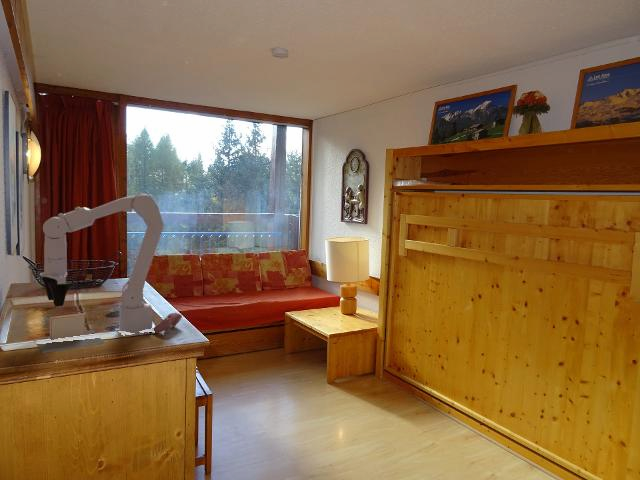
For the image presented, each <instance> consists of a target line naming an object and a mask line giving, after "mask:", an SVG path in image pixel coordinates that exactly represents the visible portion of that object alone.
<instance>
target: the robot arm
mask: <svg viewBox="0 0 640 480" xmlns="http://www.w3.org/2000/svg"><path fill="white" fill-rule="evenodd" d="M132 210H133V211H134V212H135V213H136V214H137V215H138V216H139V217H141V218H142V221H143V222H144V224H145V226H146V229H145V232H144V235H143V237H142V242H141V244H140V247H139V250H138V253H137V256H136V258H135V261H134V265H133V267H132V270H131V273H130V274H129V277H128V280H127V282H126V283H125V284H123V286H122V289H121V296H120V299H121V300H120V301H121V302H120V303H119V323H118V325H119V326H118V327H117V328H114V330H115V332H117V330H119V331H126V332H130V333H135V334H133V335H125V336H122V337H123V338H124V337H131V336H136V335H146V334H148V335H149V333H148V332H144V333H140V332H139V331H142V330H145V329H151V328H152V329H153V316H154V315H153V313H154V312H153V307H152V305H151V303H147V302H146V303H145V301H144V293H143V292H144V288H145V283H146V279H147V276H148V273H149V270H150V268H151V264H152V261H153V259H154V255H155V253H156V250H157V247H158V243H159V241H160V238H161V235H162V232H163V230H164V221H163V218H162V214H161V213H160V212H161V211H160V208H159V206H158V204H157V202H156V201H155V200H154V198H153V197H152V196H151V195H149V194H148V193H144V192H143V193H138V194H136V195H130V196H125V197H121V198H118V199H116V200H112V201H110V202H107V203H105V204H101V205H99V206H97V207H94V208H91V209H90V208H89V207H85V206H83V207H80V206H77V207H75V208H74V210H71V211H68V212H66V213H63V212H60V213H58V215H57V216H52V217H50V218H49V219H47V220H46V221H45V222H44V223H43V225H42V231H43V233H44V242H43V243H44V245H43V247H44V248H43V250H44V251H43V253H44V254H43V255H44V256H43V257H44V258H43V259H44V260H43V261H44V263H43V264H44V265H43V267H44V271H43V272H40V273H39V276H40V279H41V281H42V283H43V285H44V288H45V292H46V296H47V298H48V299H47V300H48V301H53V305H54V307H56V308H57V307H63V306H64V304H65V301H66V296H67V293H68V291H69V289H70V287H71V284H72V283H71V282H70V281H69V282H67V279H66V278H67V276H68V271H67V269H68V268H67V267H68V266H67V265H68V264H67V263H68V261H67V259H68V258H67V247H68V246H67V245H68V243H67V234H66V233H73V232H76V231H79V230H81V229H84V228H88V227H91V226H93V225H94V222H95V221H96V219H100V218H104V217H106V216H109V215H112V214H116V213H118V212H127V213H132V212H133V211H132Z"/></svg>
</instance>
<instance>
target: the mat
mask: <svg viewBox="0 0 640 480" xmlns="http://www.w3.org/2000/svg"><path fill="white" fill-rule="evenodd" d="M89 333H96V332H95V331H94V330H93V329H91V330H85V334H89ZM43 338H50V335H49V336H42V337H33V340H34V339H43ZM102 344H103V345H104V344H106V342H105V341H104V340H103V339H102V338H101V337H100V338H95V339H85V340H73V341H63V342H52V343H46V344H36V345H37V347H38V349H39V350H40V352H41V353H42V354H47V353H53V352H59V351H60V352H61V351H65V350H66V351H67V350H72V349H79V348H83V347H91V346H96V345H102Z"/></svg>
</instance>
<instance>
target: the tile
mask: <svg viewBox="0 0 640 480" xmlns="http://www.w3.org/2000/svg"><path fill="white" fill-rule="evenodd" d="M85 331H86V314H85V313H84V312H83V313H72V314H65V315H57V316H49V336H50V339H51V340H54V339H58V338H65V337H73V336H80V335H85Z"/></svg>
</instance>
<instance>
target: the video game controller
mask: <svg viewBox="0 0 640 480" xmlns="http://www.w3.org/2000/svg"><path fill="white" fill-rule="evenodd" d="M182 318H183V316H182V315H181V314H180V313H178V312H172V313H169V314H167V316H166V317H165V318H163V319H162V320H161V321H160V322H159V323H158V324H156V325H155V326H154V327H152V330H153V329H154V331H155V333H154V334H161V333H162V332H166V333H168V332H169V331H170V329H171V330H173V329H174V328H176V325H178V324H179V322H180V321H181V319H182Z"/></svg>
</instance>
